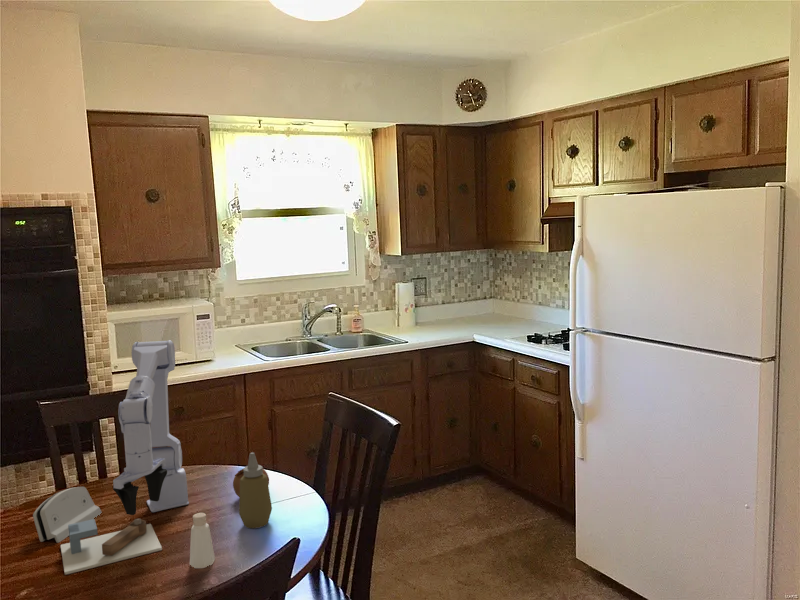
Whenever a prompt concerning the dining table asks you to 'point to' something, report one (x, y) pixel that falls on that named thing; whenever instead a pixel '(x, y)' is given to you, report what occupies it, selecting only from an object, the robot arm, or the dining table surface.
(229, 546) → the dining table surface
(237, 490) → the onion
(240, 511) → the squeeze bottle
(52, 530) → the white rounded block
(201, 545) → the pepper shaker
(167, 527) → the dining table surface
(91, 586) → the dining table surface
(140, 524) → the link arm
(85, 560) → the keeper board
